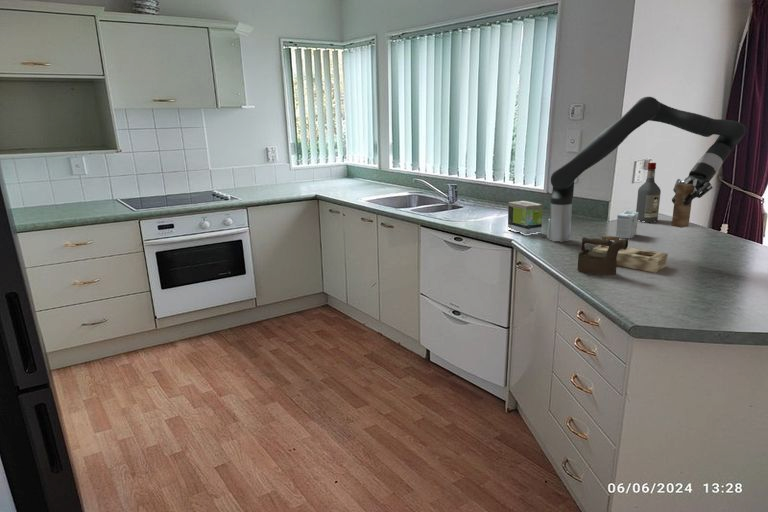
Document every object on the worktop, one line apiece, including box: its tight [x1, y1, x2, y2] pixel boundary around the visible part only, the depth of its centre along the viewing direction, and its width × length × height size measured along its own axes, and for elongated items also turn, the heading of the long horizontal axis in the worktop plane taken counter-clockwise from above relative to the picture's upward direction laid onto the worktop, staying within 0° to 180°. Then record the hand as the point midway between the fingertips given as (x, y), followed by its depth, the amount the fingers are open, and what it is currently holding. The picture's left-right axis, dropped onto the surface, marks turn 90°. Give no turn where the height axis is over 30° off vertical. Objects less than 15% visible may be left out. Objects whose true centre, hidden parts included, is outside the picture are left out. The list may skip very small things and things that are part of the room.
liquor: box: [635, 162, 661, 223], centre depth 255 cm, size 9×9×30 cm
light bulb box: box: [615, 210, 639, 240], centre depth 231 cm, size 11×7×11 cm, turn 141°
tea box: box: [507, 200, 544, 234], centre depth 246 cm, size 15×10×15 cm
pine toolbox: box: [591, 234, 668, 274], centre depth 191 cm, size 24×10×10 cm, turn 43°
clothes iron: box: [577, 237, 629, 275], centre depth 182 cm, size 8×16×13 cm, turn 48°
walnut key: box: [671, 183, 694, 229], centre depth 187 cm, size 4×4×16 cm
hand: (679, 203), depth 186 cm, fingers closed on walnut key, 4 cm apart
